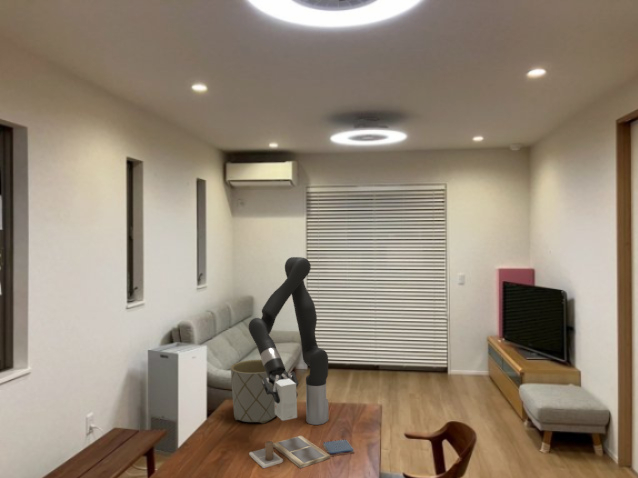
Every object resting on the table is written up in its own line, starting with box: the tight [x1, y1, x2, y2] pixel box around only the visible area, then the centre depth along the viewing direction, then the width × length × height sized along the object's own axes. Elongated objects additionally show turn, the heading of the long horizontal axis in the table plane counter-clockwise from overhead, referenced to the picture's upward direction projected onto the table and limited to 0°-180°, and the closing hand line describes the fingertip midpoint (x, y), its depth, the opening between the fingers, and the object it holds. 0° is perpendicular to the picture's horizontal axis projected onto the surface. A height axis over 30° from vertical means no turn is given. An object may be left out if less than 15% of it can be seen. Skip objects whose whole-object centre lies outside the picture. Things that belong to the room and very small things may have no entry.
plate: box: [248, 440, 284, 469], centre depth 173 cm, size 8×12×7 cm, turn 33°
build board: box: [273, 435, 331, 469], centre depth 178 cm, size 13×21×1 cm, turn 33°
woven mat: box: [322, 438, 355, 457], centre depth 181 cm, size 10×11×2 cm
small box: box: [275, 377, 298, 422], centre depth 175 cm, size 8×6×13 cm
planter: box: [230, 359, 278, 424], centre depth 215 cm, size 23×23×24 cm
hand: (287, 400), depth 174 cm, fingers closed on small box, 6 cm apart
